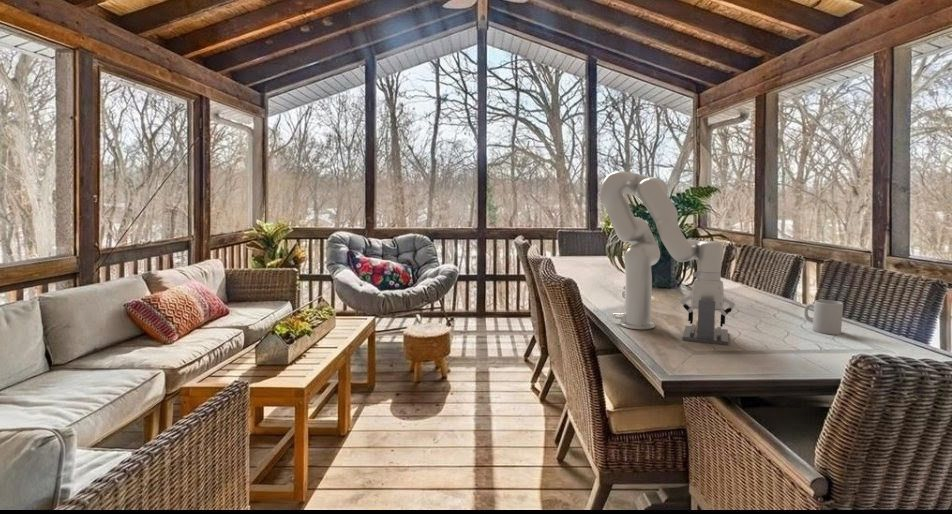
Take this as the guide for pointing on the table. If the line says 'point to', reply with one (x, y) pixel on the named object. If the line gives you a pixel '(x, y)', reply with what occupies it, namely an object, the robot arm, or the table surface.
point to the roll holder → (706, 326)
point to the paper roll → (697, 324)
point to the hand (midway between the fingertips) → (706, 324)
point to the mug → (826, 316)
